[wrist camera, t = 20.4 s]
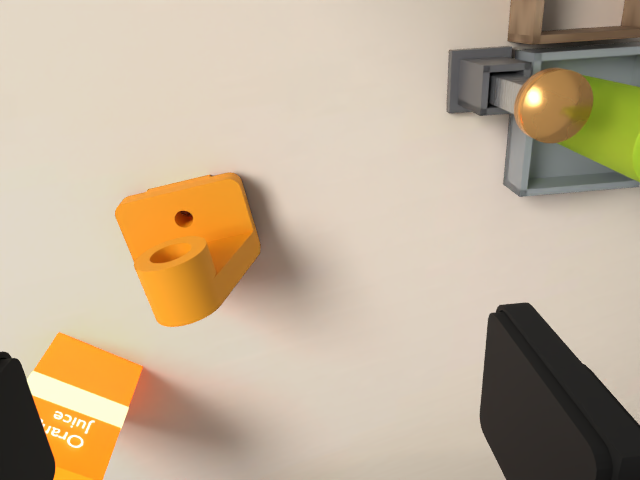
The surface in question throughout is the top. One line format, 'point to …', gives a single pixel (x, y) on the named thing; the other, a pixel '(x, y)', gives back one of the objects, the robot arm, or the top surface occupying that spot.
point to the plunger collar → (478, 77)
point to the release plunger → (544, 102)
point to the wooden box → (528, 27)
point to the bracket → (189, 244)
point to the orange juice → (82, 404)
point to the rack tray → (556, 160)
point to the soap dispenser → (611, 128)
